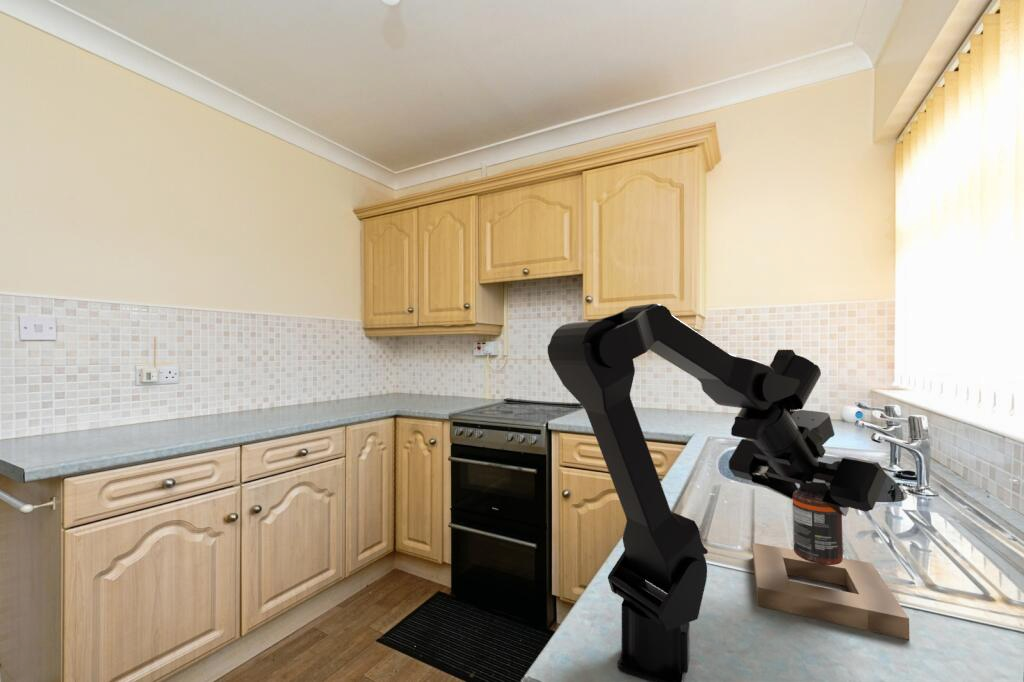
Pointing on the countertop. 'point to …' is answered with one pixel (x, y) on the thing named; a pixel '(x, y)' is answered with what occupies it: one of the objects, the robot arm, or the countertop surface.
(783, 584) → the square wooden frame
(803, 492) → the supplement bottle
